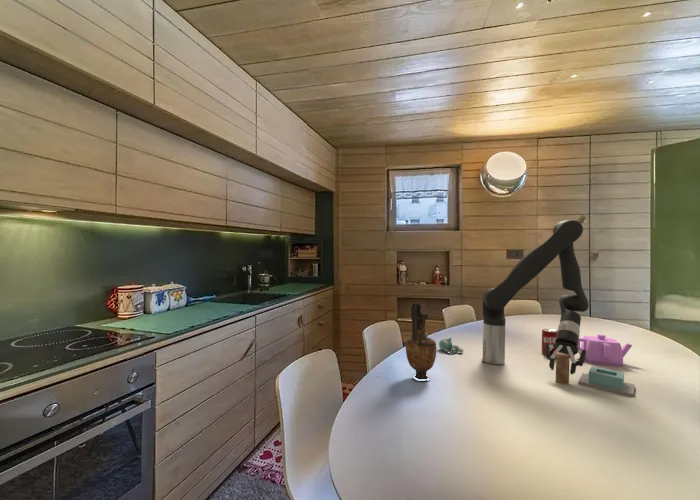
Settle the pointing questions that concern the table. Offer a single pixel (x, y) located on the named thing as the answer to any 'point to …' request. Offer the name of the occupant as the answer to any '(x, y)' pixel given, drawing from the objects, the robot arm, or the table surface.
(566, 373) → the block
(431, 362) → the vase
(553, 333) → the soda can
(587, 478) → the table surface
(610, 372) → the teal and grey socket
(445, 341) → the stuffed animal
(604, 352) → the teakettle
